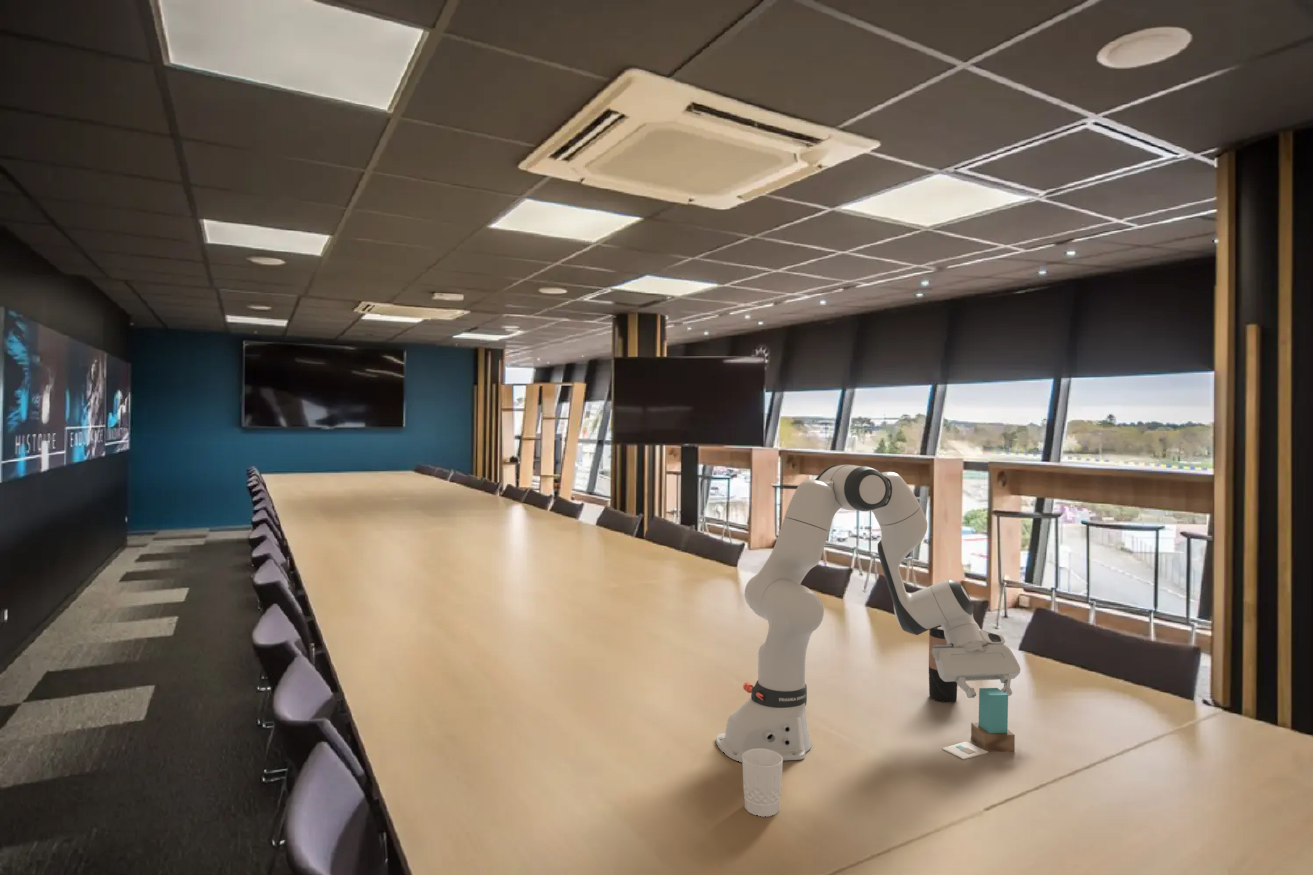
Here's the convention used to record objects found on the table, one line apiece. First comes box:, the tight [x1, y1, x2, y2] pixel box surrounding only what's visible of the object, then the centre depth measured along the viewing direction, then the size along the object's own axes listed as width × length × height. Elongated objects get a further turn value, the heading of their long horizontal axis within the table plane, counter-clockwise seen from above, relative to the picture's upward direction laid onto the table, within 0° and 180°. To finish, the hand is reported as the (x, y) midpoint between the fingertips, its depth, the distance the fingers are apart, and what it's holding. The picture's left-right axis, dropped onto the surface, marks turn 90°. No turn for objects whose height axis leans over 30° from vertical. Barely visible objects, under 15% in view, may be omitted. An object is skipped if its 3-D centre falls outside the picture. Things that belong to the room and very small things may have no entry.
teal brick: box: [978, 687, 1009, 733], centre depth 167 cm, size 4×4×9 cm
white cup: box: [741, 749, 784, 818], centre depth 138 cm, size 8×8×10 cm
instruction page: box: [942, 741, 989, 761], centre depth 164 cm, size 8×6×1 cm
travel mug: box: [928, 625, 958, 704], centre depth 197 cm, size 8×8×20 cm
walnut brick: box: [970, 722, 1016, 752], centre depth 168 cm, size 7×7×4 cm
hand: (990, 695), depth 168 cm, fingers open, 8 cm apart
